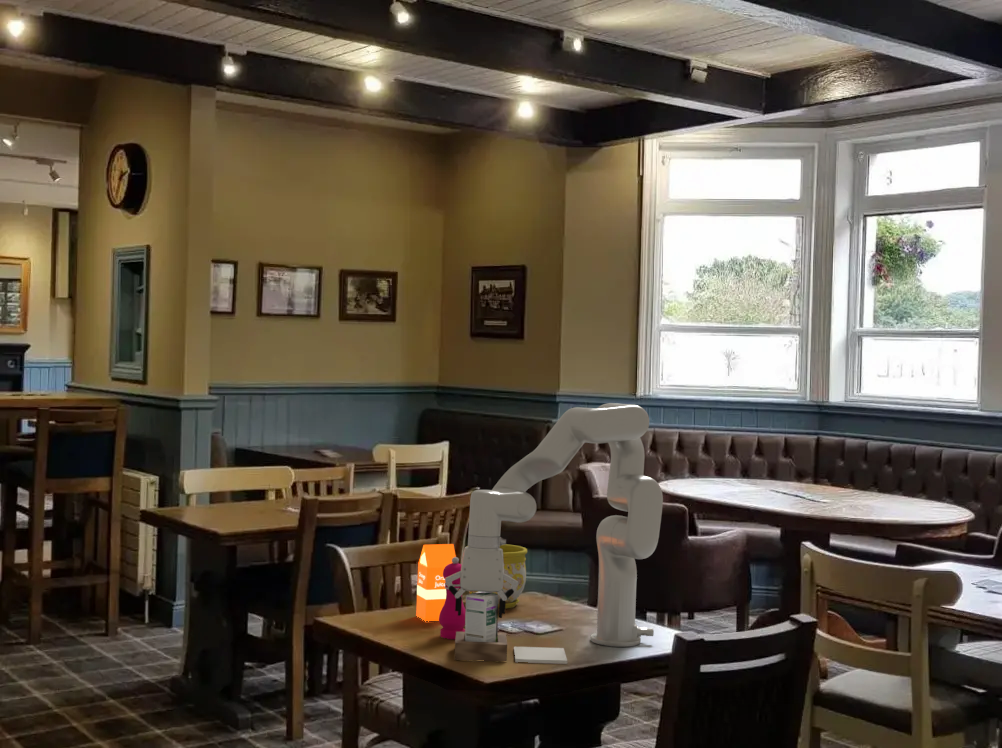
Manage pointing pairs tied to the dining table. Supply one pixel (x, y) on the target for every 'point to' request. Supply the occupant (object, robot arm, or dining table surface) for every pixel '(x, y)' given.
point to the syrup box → (481, 617)
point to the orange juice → (432, 580)
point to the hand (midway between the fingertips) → (479, 615)
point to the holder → (480, 649)
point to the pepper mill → (451, 605)
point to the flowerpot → (513, 572)
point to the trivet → (540, 655)
